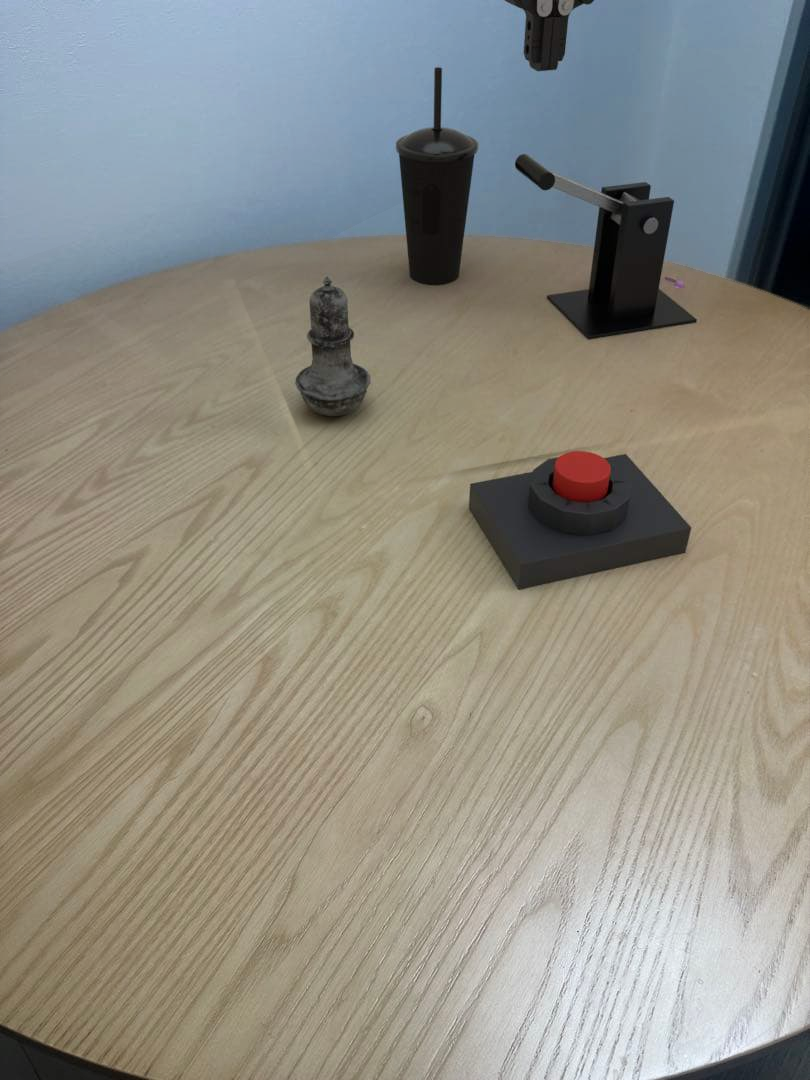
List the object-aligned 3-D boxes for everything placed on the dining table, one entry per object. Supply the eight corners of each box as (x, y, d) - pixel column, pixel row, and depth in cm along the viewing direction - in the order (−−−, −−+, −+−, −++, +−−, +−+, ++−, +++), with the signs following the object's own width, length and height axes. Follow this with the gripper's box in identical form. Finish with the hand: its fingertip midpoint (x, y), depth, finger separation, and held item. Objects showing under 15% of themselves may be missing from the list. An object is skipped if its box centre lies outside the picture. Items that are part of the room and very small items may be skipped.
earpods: (665, 300, 96) (652, 290, 95) (674, 286, 96) (661, 276, 95) (681, 301, 93) (668, 291, 92) (690, 286, 93) (677, 276, 92)
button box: (621, 478, 69) (629, 432, 67) (685, 553, 63) (697, 505, 60) (468, 508, 66) (470, 461, 64) (518, 590, 60) (523, 541, 57)
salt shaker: (286, 430, 74) (272, 286, 67) (316, 394, 79) (307, 255, 71) (355, 444, 73) (348, 299, 65) (382, 407, 77) (379, 266, 70)
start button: (592, 468, 64) (595, 446, 63) (617, 498, 61) (620, 476, 60) (543, 477, 63) (546, 455, 62) (566, 508, 60) (569, 486, 59)
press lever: (533, 192, 76) (547, 164, 75) (509, 173, 80) (522, 145, 79) (653, 242, 82) (667, 216, 81) (625, 221, 86) (639, 196, 85)
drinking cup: (487, 287, 95) (499, 70, 82) (425, 305, 92) (428, 83, 79) (442, 261, 100) (447, 54, 87) (382, 279, 97) (378, 65, 84)
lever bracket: (586, 348, 85) (604, 218, 77) (545, 306, 91) (557, 183, 84) (694, 331, 87) (721, 203, 80) (646, 291, 94) (667, 170, 87)
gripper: (494, -219, 58) (480, 87, 68) (685, -220, 61) (643, 73, 72) (452, -220, 63) (446, 64, 74) (630, -220, 66) (598, 52, 77)
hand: (543, 68), depth 73 cm, fingers closed
